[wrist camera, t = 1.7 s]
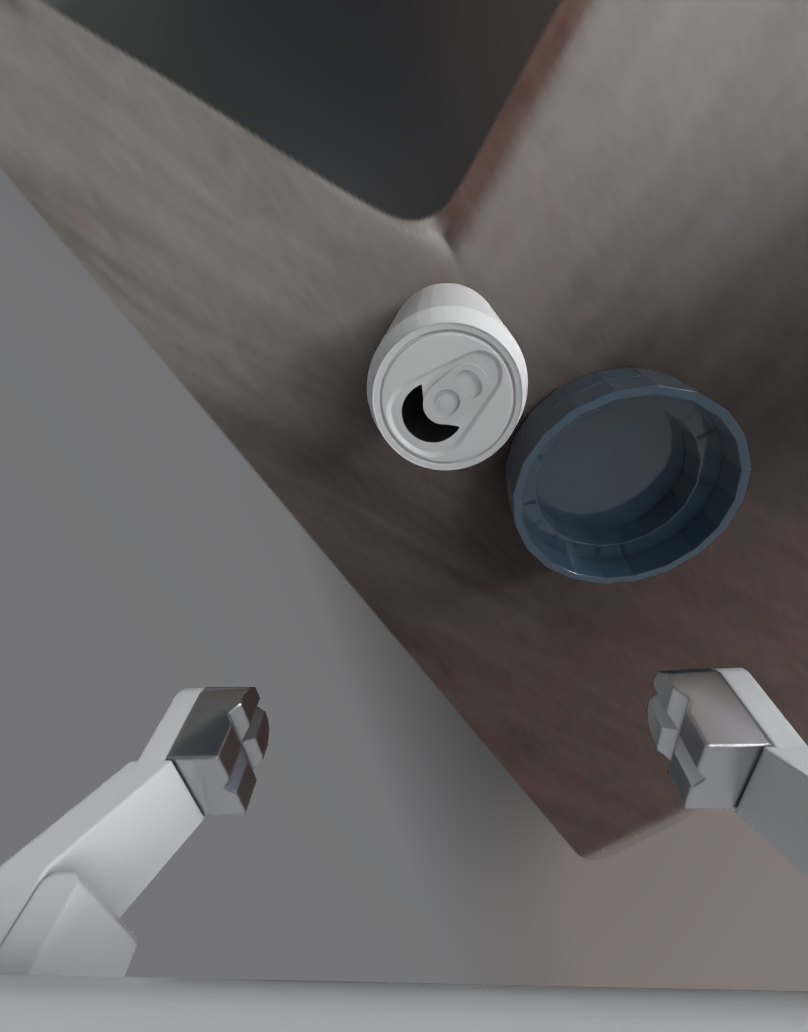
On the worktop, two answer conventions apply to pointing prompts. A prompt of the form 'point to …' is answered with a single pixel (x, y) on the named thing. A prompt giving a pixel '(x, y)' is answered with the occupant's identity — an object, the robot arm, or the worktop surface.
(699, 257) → the worktop surface
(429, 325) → the beverage can
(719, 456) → the bowl
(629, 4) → the worktop surface
